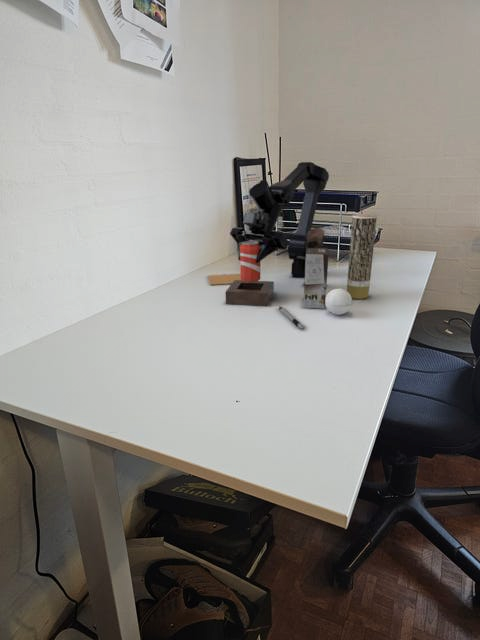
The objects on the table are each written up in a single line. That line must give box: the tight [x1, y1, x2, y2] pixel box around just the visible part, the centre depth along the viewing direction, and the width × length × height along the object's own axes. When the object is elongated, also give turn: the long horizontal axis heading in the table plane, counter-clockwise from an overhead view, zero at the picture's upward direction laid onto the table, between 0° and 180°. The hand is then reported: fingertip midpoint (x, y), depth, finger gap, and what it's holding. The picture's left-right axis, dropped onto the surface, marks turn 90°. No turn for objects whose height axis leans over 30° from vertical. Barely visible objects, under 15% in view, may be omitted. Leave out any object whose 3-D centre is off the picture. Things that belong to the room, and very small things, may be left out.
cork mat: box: [208, 273, 241, 286], centre depth 147 cm, size 12×12×1 cm
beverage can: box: [239, 240, 261, 283], centre depth 123 cm, size 6×6×12 cm
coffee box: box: [302, 247, 330, 310], centre depth 118 cm, size 9×6×16 cm
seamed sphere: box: [325, 287, 362, 316], centre depth 111 cm, size 10×7×7 cm
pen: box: [278, 306, 304, 330], centre depth 109 cm, size 1×16×1 cm, turn 15°
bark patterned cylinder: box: [346, 213, 378, 300], centre depth 122 cm, size 7×7×25 cm
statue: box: [302, 227, 325, 287], centre depth 134 cm, size 7×7×20 cm
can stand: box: [225, 280, 275, 307], centre depth 126 cm, size 13×13×4 cm
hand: (247, 261), depth 121 cm, fingers closed on beverage can, 6 cm apart
